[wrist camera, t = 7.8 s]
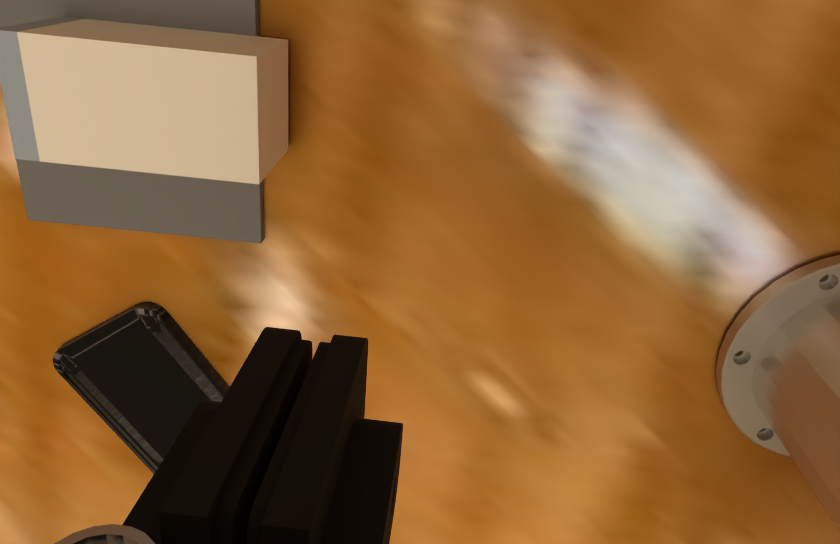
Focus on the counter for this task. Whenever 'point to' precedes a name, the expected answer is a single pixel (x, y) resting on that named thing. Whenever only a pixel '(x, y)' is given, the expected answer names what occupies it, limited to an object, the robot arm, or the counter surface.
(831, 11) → the counter surface
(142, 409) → the phone
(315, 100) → the counter surface
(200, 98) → the block
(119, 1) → the mat
